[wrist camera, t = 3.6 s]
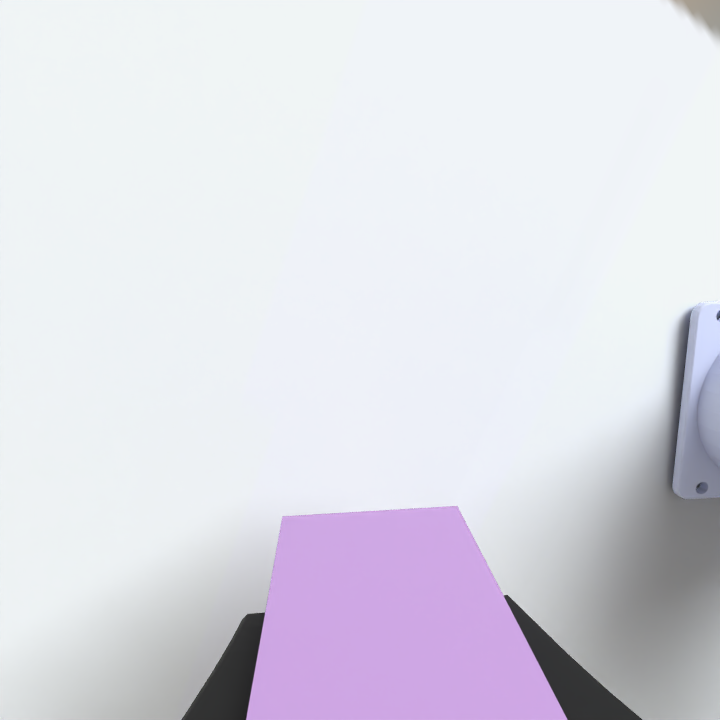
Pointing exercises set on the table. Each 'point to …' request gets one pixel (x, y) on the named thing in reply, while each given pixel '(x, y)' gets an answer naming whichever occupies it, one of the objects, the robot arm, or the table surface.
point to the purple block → (391, 625)
